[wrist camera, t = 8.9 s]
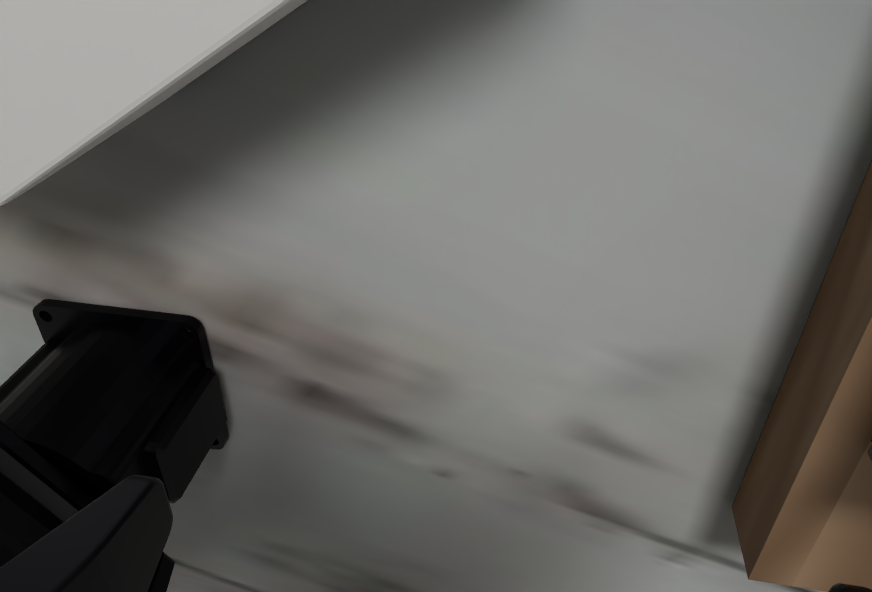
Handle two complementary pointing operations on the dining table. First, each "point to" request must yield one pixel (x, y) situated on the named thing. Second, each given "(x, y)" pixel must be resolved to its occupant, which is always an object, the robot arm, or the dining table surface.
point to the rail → (819, 437)
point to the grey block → (870, 453)
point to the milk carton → (103, 70)
